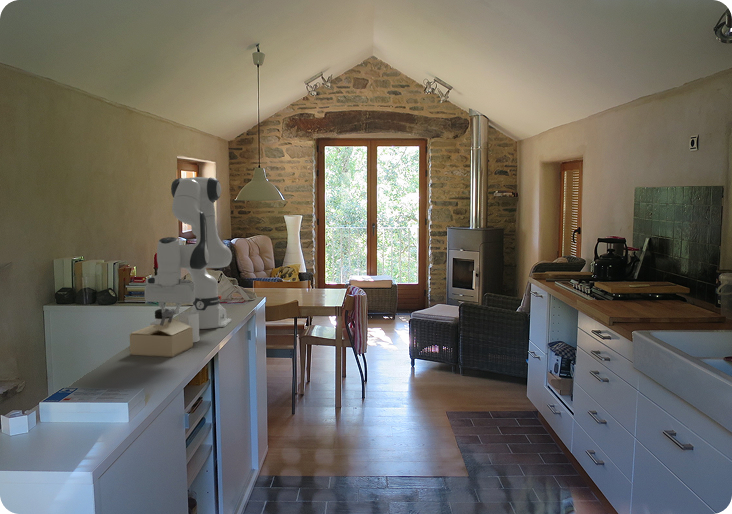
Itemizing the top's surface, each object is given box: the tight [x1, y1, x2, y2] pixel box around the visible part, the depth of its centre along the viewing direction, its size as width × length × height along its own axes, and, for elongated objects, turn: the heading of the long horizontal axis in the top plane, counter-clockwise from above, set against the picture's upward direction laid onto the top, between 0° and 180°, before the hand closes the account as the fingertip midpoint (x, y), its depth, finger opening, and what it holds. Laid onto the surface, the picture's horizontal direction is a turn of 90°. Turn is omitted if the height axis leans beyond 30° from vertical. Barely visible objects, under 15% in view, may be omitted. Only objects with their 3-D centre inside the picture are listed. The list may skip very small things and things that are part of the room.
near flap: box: [152, 308, 191, 336], centre depth 229 cm, size 15×9×6 cm, turn 169°
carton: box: [129, 325, 194, 358], centre depth 231 cm, size 16×18×8 cm
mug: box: [178, 310, 201, 344], centre depth 245 cm, size 12×8×12 cm
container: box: [149, 308, 170, 326], centre depth 250 cm, size 8×8×13 cm
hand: (170, 313), depth 229 cm, fingers open, 4 cm apart
